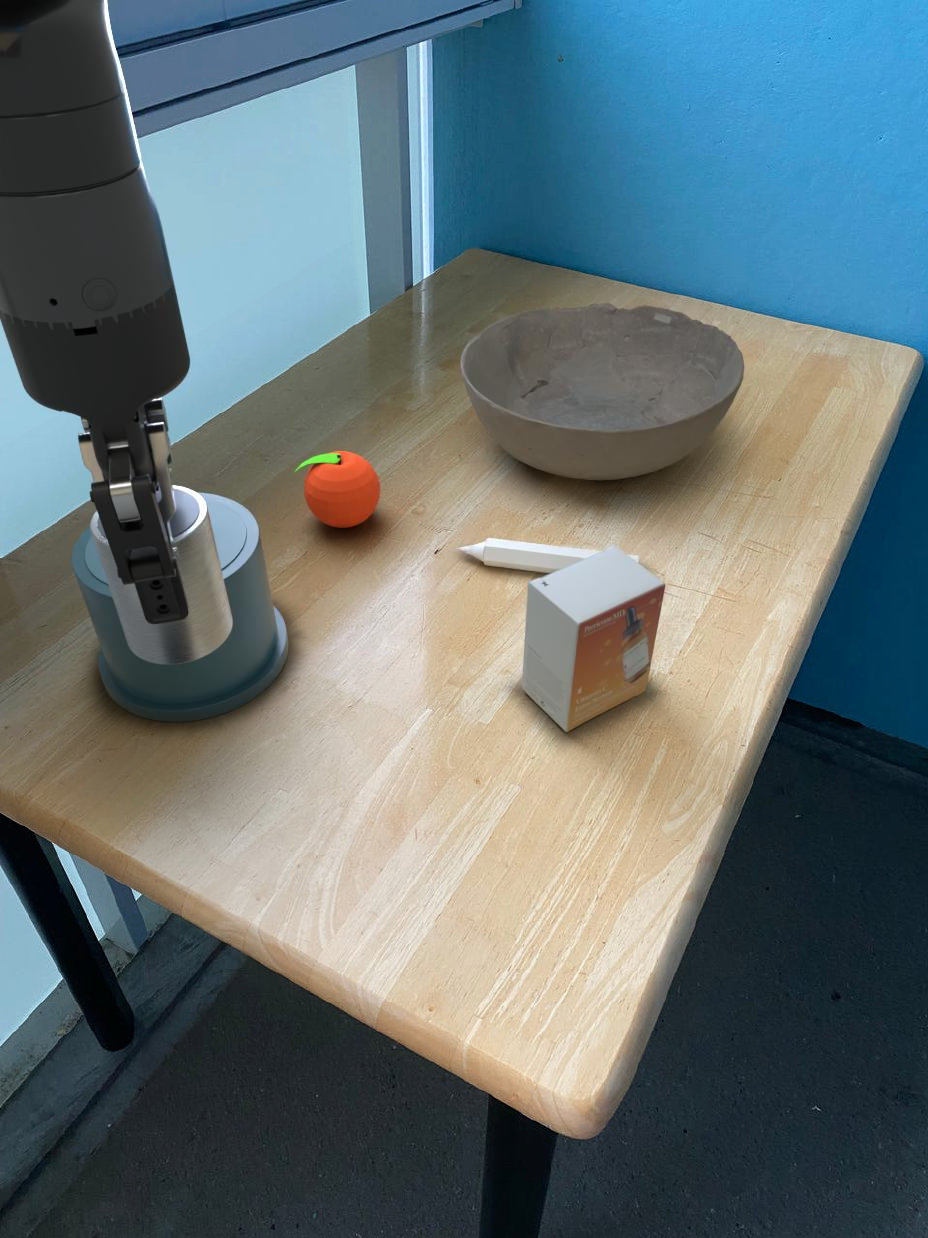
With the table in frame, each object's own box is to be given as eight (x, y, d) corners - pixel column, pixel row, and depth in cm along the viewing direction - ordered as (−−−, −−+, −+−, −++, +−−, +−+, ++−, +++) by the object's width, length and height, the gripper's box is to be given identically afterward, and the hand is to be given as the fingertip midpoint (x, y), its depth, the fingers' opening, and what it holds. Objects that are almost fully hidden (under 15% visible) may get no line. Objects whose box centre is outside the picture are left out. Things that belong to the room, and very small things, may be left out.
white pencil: (455, 562, 84) (635, 582, 81) (451, 565, 81) (635, 585, 79) (458, 533, 83) (639, 552, 80) (453, 535, 81) (639, 555, 78)
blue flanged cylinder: (100, 739, 67) (55, 623, 60) (103, 613, 77) (65, 501, 70) (300, 700, 70) (280, 585, 62) (277, 583, 80) (257, 473, 73)
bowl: (755, 412, 102) (774, 325, 96) (679, 546, 84) (697, 450, 77) (527, 362, 112) (530, 279, 105) (413, 472, 93) (409, 381, 87)
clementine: (291, 542, 85) (281, 476, 80) (302, 500, 90) (293, 434, 85) (379, 543, 85) (374, 476, 80) (385, 500, 90) (380, 434, 85)
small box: (565, 735, 67) (576, 626, 60) (519, 689, 70) (524, 580, 64) (649, 691, 70) (668, 582, 63) (601, 649, 74) (615, 541, 67)
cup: (127, 674, 51) (87, 557, 46) (126, 606, 56) (90, 492, 50) (237, 653, 52) (211, 537, 47) (228, 588, 57) (203, 476, 52)
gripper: (6, 233, 45) (98, 519, 56) (-28, 362, 35) (93, 682, 46) (165, 218, 47) (224, 500, 58) (178, 337, 36) (247, 653, 47)
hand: (166, 579), depth 52 cm, fingers closed on cup, 6 cm apart
